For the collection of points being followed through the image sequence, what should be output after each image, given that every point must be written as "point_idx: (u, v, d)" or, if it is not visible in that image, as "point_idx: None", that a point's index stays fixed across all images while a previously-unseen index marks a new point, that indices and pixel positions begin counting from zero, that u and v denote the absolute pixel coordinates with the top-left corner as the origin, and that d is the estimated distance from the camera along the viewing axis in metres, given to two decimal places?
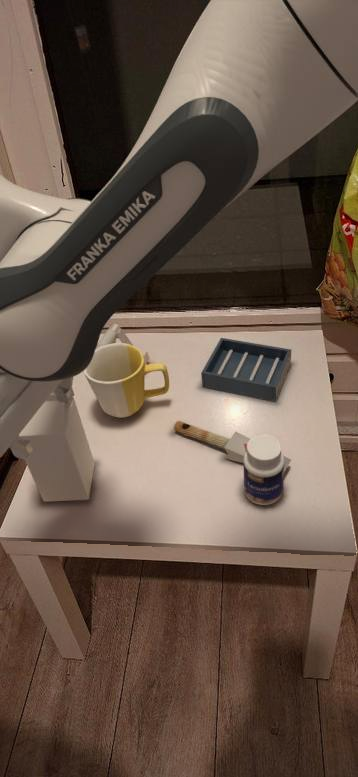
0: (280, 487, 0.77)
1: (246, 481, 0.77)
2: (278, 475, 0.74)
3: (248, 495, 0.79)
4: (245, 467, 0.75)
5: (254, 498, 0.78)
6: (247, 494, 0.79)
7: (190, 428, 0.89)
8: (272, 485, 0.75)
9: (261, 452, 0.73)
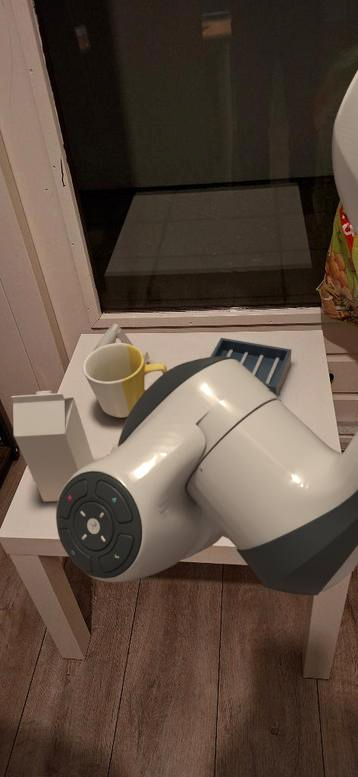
0: None
1: None
2: None
3: None
4: None
5: None
6: None
7: None
8: None
9: None
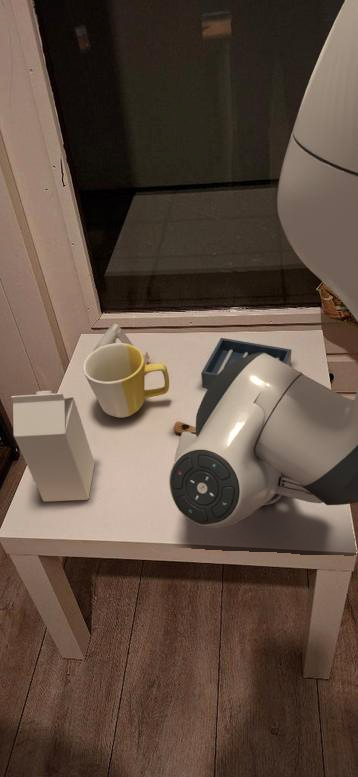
0: None
1: None
2: None
3: None
4: None
5: None
6: None
7: (190, 428, 0.89)
8: None
9: None
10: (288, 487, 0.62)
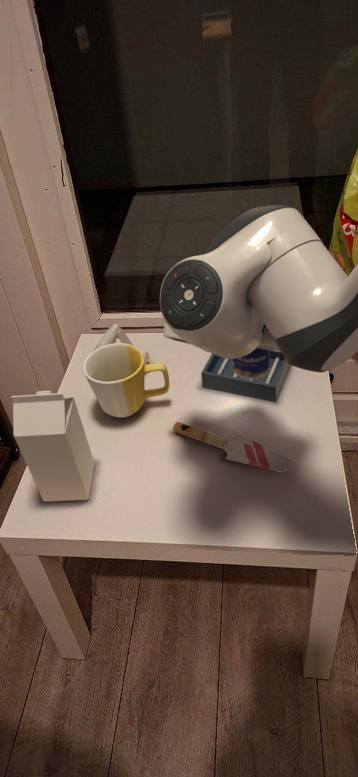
0: (267, 360, 0.81)
1: None
2: None
3: (236, 370, 0.82)
4: None
5: (242, 372, 0.81)
6: (235, 370, 0.82)
7: (189, 429, 0.89)
8: (258, 356, 0.79)
9: None
10: None
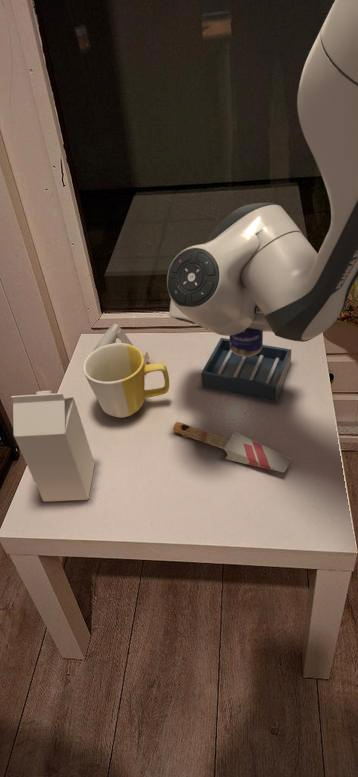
0: (260, 340, 0.92)
1: (231, 335, 0.92)
2: None
3: (233, 349, 0.93)
4: None
5: (238, 350, 0.93)
6: (232, 348, 0.94)
7: (189, 429, 0.89)
8: (252, 335, 0.90)
9: None
10: (262, 312, 0.77)
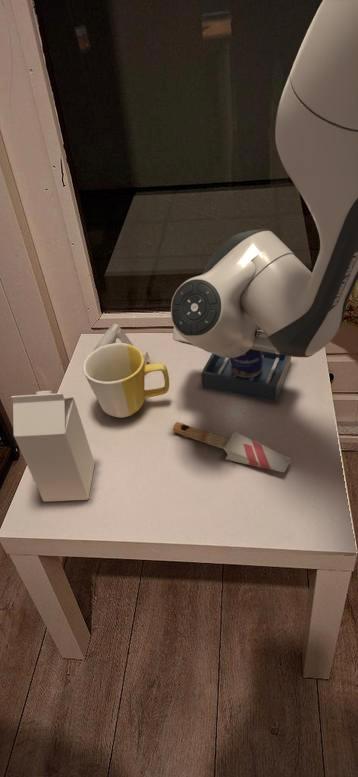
0: (260, 362, 0.95)
1: None
2: None
3: (234, 370, 0.97)
4: None
5: (239, 372, 0.96)
6: (233, 370, 0.97)
7: (189, 429, 0.89)
8: (252, 358, 0.93)
9: None
10: (263, 336, 0.80)
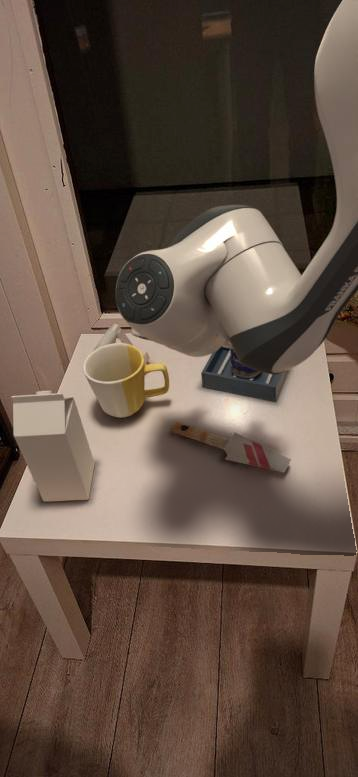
0: None
1: (232, 357, 0.95)
2: None
3: (234, 370, 0.97)
4: None
5: (239, 372, 0.96)
6: (233, 370, 0.97)
7: (189, 429, 0.89)
8: None
9: None
10: None
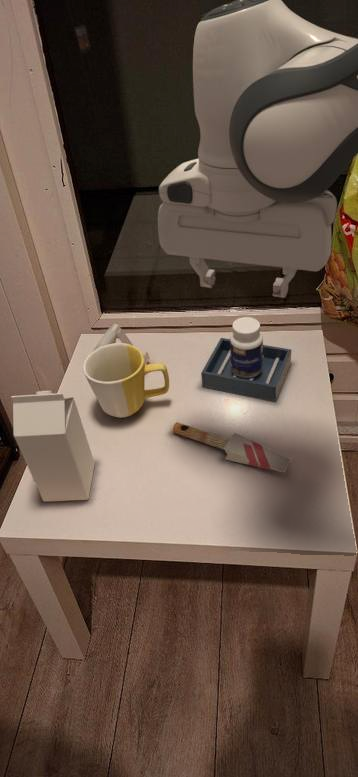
0: (260, 362, 0.95)
1: (232, 357, 0.95)
2: (257, 349, 0.93)
3: (234, 370, 0.97)
4: (231, 343, 0.93)
5: (239, 372, 0.96)
6: (233, 370, 0.97)
7: (189, 429, 0.89)
8: (252, 358, 0.93)
9: (243, 328, 0.91)
10: None
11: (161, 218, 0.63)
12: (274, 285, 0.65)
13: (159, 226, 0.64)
